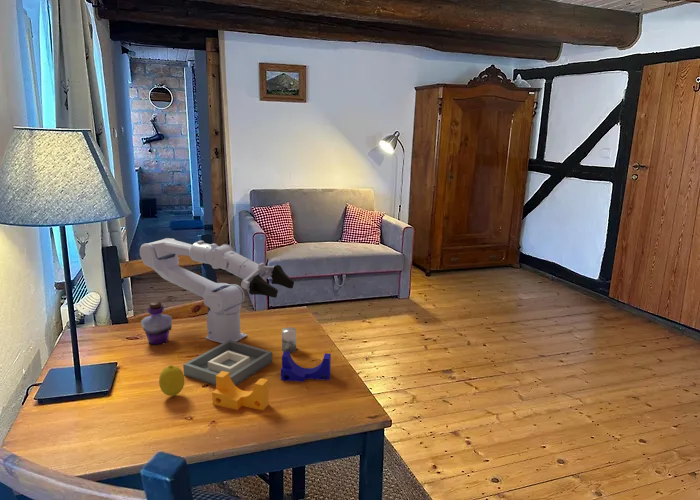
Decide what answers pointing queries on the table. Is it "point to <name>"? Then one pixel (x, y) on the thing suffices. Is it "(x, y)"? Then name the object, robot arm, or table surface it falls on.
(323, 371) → the blue cradle block
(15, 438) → the table surface
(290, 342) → the metal peg
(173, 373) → the lemon
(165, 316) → the potion bottle
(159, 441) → the table surface
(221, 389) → the pipe clamp
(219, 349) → the walled tray
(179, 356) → the table surface
